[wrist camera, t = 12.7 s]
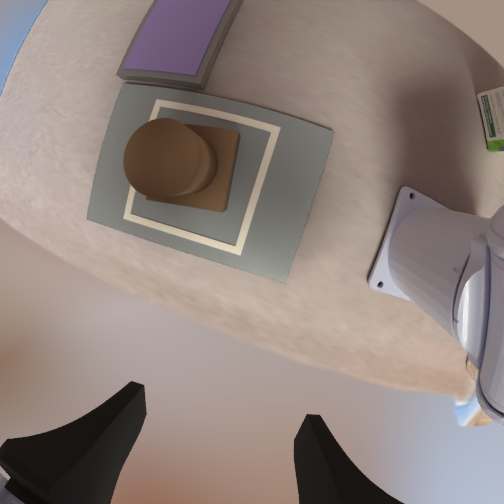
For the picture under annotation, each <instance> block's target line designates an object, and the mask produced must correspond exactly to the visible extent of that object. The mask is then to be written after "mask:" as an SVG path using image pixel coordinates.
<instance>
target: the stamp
mask: <svg viewBox="0 0 504 504" xmlns="http://www.w3.org/2000/svg"><path fill="white" fill-rule="evenodd" d="M240 137H241V136H240V134H239V132H238V130H232V129H225V128H217V127H209V126H200V125H191V124H182V123H181V122H179V121H177V120H174V119H170V118H159V119H154V120H151V121H149V122H147V123H145V124H143V125H142V126H141V127H139V128H138V129H137V130H136V131H135V132H134V133H133V135H132V136H131V137H130V139H129V141H128V143H127V145H126V148H125V151H124V157H123V166H124V172H125V175H126V177H127V180H128V181H129V183H130V184H131V186H132V187H133V188H134V189H135V190H136V191H138V192H139V193H141V194H143V195H145V196H146V200H150V201H156V202H163V203H169V204H175V205H181V206H187V207H193V208H199V209H204V210H210V211H216V212H221V213H223V212H224V211H226V210H227V206H228V200H229V195H230V189H231V184H232V179H233V173H234V168H235V163H236V158H237V153H238V147H239V142H240Z"/></svg>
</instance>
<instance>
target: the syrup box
mask: <svg viewBox="0 0 504 504" xmlns="http://www.w3.org/2000/svg"><path fill="white" fill-rule="evenodd" d="M477 99H478V101H479V104H480V108H481V113H482V117H483V122H484V127H485V132H486V137H487V145H488V150H489V151H490V152H501V153H504V86H503V87H499V88H496V89H492V90H488V91H484V92H481V93H478V94H477Z"/></svg>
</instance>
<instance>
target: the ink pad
mask: <svg viewBox="0 0 504 504" xmlns="http://www.w3.org/2000/svg"><path fill="white" fill-rule="evenodd" d="M242 2H243V0H154V2H153V4H152V5H151V7H150V8H149V10H148V12H147V14H146V15H145V17H144V19H143V21H142V22H141V24H140V26H139V28H138V30H137V32H136V33H135V35H134V37H133V39H132V41H131V43H130V45H129V47H128V49H127V52H126V54H125V56H124V58H123V60H122V62H121V65H120V67H119V69H118V72H117V74H116V75H117V76H119V77H120V78H122V79H124V80H138V81H149V82H158V83H166V84H174V85H180V86H187V87H193V88H199V89H204V87H205V85H206V82H207V80H208V77H209V75H210V72H211V70H212V67H213V65H214V62H215V60H216V58H217V55H218V53H219V51H220V48H221V46H222V44H223V42H224V39H225V37H226V35H227V33H228V31H229V29H230V27H231V24H232V22H233V20H234V18H235V16H236V14H237V12H238V10H239V8H240V6H241V4H242Z"/></svg>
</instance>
